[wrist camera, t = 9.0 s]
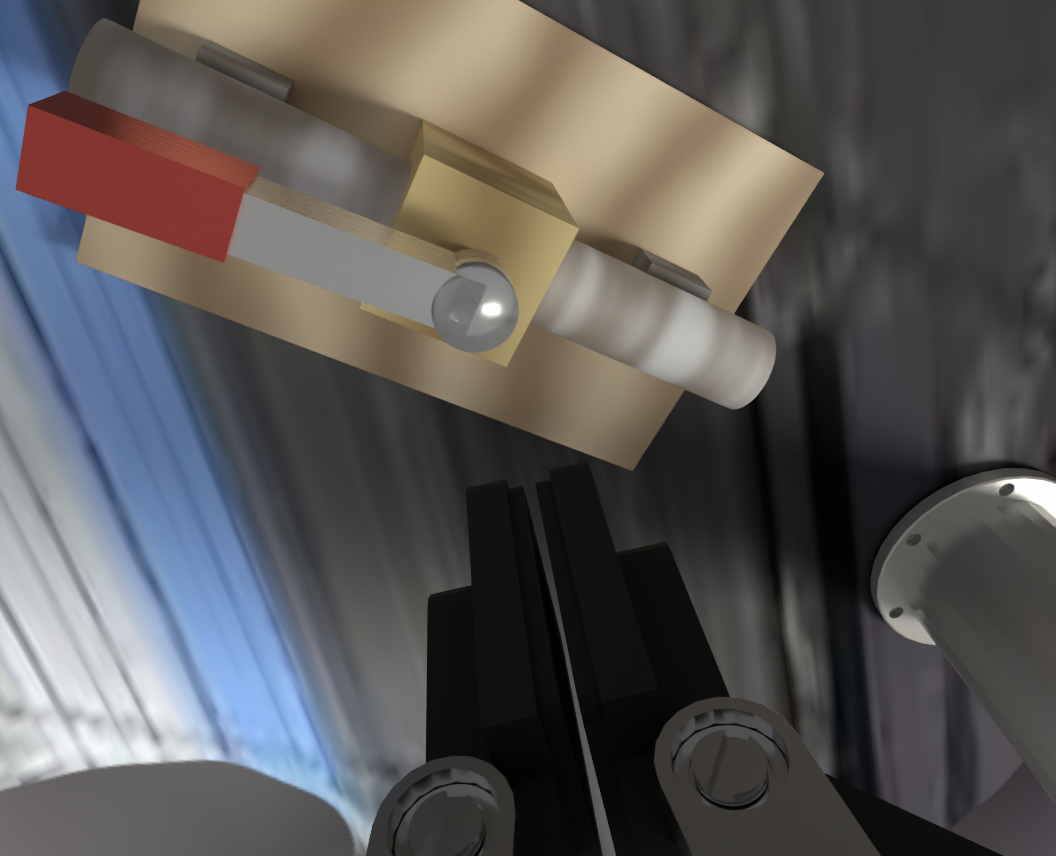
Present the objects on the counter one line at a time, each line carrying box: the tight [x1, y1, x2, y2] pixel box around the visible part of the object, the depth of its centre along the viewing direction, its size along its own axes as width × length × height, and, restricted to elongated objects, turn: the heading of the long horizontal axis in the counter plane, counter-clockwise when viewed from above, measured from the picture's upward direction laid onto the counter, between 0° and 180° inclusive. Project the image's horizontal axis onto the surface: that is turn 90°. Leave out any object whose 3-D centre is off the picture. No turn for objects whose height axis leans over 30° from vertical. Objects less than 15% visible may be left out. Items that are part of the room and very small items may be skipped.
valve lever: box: [16, 91, 519, 353], centre depth 23 cm, size 3×14×2 cm, turn 66°
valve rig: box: [68, 0, 824, 471], centre depth 30 cm, size 26×16×10 cm, turn 63°
